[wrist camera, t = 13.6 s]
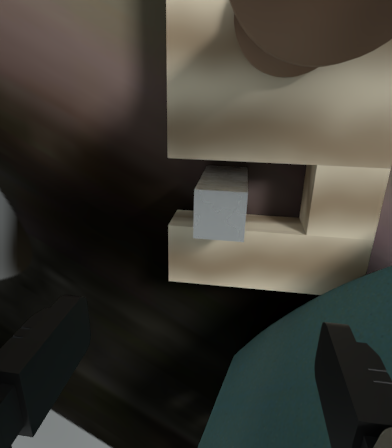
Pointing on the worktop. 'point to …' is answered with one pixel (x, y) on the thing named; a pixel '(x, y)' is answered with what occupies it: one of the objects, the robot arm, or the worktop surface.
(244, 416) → the flower pot
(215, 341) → the worktop surface
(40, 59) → the worktop surface
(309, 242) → the notched board
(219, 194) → the tab peg
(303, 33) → the bobbin
